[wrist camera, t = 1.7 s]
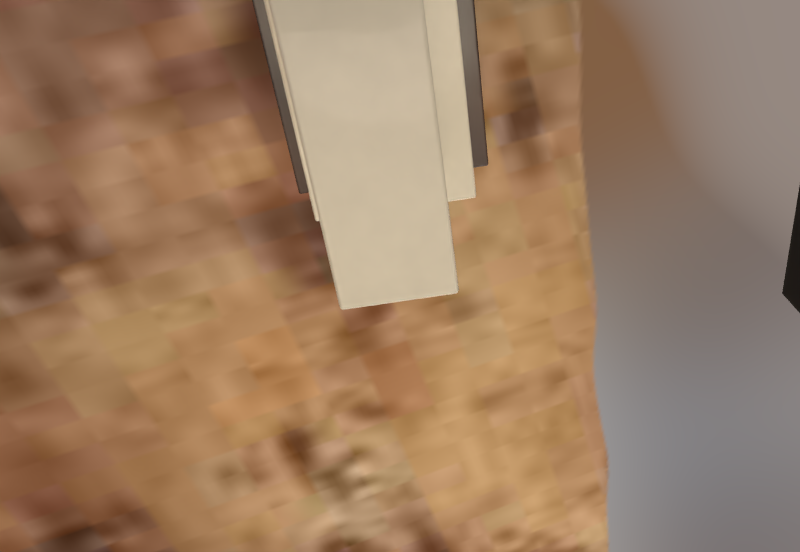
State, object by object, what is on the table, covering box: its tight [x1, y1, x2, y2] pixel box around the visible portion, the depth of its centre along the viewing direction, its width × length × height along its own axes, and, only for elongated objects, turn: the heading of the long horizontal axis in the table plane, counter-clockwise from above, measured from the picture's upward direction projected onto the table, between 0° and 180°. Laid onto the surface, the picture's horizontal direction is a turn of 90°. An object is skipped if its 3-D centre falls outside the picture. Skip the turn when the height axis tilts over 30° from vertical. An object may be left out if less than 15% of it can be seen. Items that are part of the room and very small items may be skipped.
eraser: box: [264, 0, 476, 309], centre depth 20 cm, size 11×6×9 cm, turn 8°
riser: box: [252, 0, 488, 194], centre depth 26 cm, size 11×7×5 cm, turn 8°
